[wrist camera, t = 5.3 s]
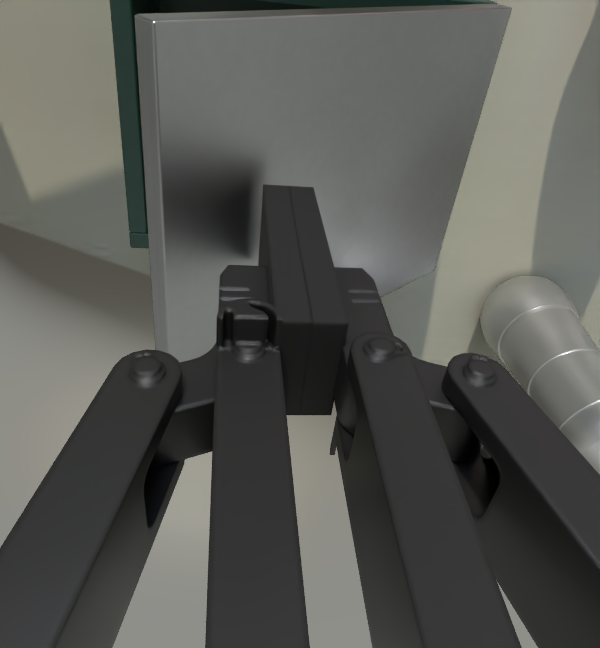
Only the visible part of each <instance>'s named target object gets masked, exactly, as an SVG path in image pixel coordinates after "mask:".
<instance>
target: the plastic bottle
mask: <svg viewBox="0 0 600 648" xmlns="http://www.w3.org/2000/svg"><path fill="white" fill-rule="evenodd" d="M480 323H481V328H482V331H483V335H484V338H485V340H486V343H487V344H488V346H489V347H490V348H491V349H492V350H493V352H494V353H495V354H496V355H497V356H498V358H499V359H500V360H501V361H502V362H503V363H504V364H506V365H507V367H508V368H509V369H510V371H511V372H512V373H513V375H514V376H515V377H516V379H517V380H518V382H519V383H520V384H521V386H522V387H523V388H524V390H525V391H526V393H527V394H528V395H529V396H530V397H531V398H532V399H533V400H534V402H535V403H536V404H537V405H538V406H539V407H540V408H541V409H542V411H543V412H544V413H545V414H546V415H547V416H548V417H549V418H550V420H551V421H552V422H553V423H554V424H555V425H556V426H557V427H558V428H559V430H560V431H561V432H562V433H563V434H564V435H565V436H566V437H567V439H568V440H569V441H570V442H571V443H572V444H573V445H574V446H575V448H576V449H577V450H578V451H579V452H580V453H581V454H582V455H583V456H584V458H585V459H586V460H587V461H588V462H589V463H590V464H591V465H592V467H593V468H594V469H595V470H596V471H597V472H598V473H599V474H600V350H599V349H598V348H597V346H596V345H595V343H594V342H593V340H592V338H591V337H590V335H589V334H588V332H587V331H586V329H585V328H584V326H583V324H582V323H581V321H580V319H579V316H578V313H577V311H576V309H575V307H574V305H573V303H572V302H571V300H570V298H569V297H568V295H567V293H566V292H565V291H564V290H562V289H561V288H560V287H559V286H557V285H556V284H555V283H553V282H552V281H550V280H549V279H547V278H544V277H540V276H519V277H515V278H512V279H509V280H507V281H505V282H503V283H502V284H500V285H499V286H497V287H496V288H495V289H494V290H493V291H492V292H491V294H490V295H489V296H488V298H487V299H486V301H485V303H484V306H483V309H482V312H481V317H480Z"/></svg>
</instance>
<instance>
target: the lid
mask: <svg viewBox="0 0 600 648" xmlns="http://www.w3.org/2000/svg"><path fill="white" fill-rule="evenodd" d="M511 10H512V8H511V7H507V6H503V5H498V4H469V5H434V6H398V7H363V8H328V9H292V10H257V11H222V12H187V13H151V14H136V15H135V31H136V47H137V63H138V79H139V94H140V110H141V126H142V142H143V158H144V174H145V190H146V206H147V222H148V238H149V254H150V270H151V285H152V302H153V318H154V334H155V350H159V351H163V352H166V353H169V354H171V355H172V356H173V357H175V358H176V359H177V360H178V361H179V362H184V361H188V360H192V359H195V358H198V357H200V356H202V355H204V354H206V353H207V352H208V351H210V350H211V349H212V348H213V346H214V345H215V343H216V329H217V314H218V307H219V282H220V275H221V273H222V272H223V271H224V270H225V268H226V267H227V266H228V265H249V266H258V259H259V243H260V227H261V211H262V195H263V184H264V185H283V186H301V187H314V191H315V195H316V199H317V203H318V206H319V210H320V214H321V218H322V222H323V226H324V229H325V233H326V237H327V241H328V245H329V249H330V253H331V256H332V260H333V264H334V267H342V268H363V269H364V270H365V271H366V272H367V273H368V274H369V275H370V276H371V277H372V278H373V279H374V282H375V284H376V287H377V290H378V294H379V296H380V298H381V297H383V296H385V295H387V294H389V293H391V292H393V291H395V290H396V289H398V288H400V287H402V286H404V285H406V284H408V283H410V282H412V281H414V280H416V279H418V278H420V277H422V276H424V275H425V274H427V273H429V272H431V271H433V270H434V269H435V266H436V263H437V259H438V256H439V252H440V249H441V246H442V242H443V239H444V236H445V232H446V229H447V226H448V222H449V219H450V215H451V212H452V209H453V205H454V202H455V199H456V195H457V192H458V188H459V185H460V182H461V178H462V175H463V172H464V168H465V165H466V161H467V158H468V155H469V151H470V148H471V145H472V141H473V138H474V135H475V131H476V128H477V124H478V121H479V118H480V114H481V111H482V108H483V104H484V101H485V97H486V94H487V91H488V87H489V84H490V81H491V77H492V74H493V70H494V67H495V64H496V60H497V57H498V54H499V50H500V47H501V44H502V40H503V37H504V33H505V30H506V27H507V23H508V20H509V17H510V13H511Z"/></svg>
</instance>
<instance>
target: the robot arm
mask: <svg viewBox="0 0 600 648" xmlns="http://www.w3.org/2000/svg"><path fill="white" fill-rule="evenodd" d="M334 401H335V406H336V411H337V417H336V422H335V427H334V432H333V437H332V442H331V448H330V455H334V454H335V450H336V446H337V450H338V457H339V462H340V468H341V473H342V479H343V485H344V490H345V496H346V501H347V507H348V512H349V518H350V524H351V530H352V535H353V540H354V546H355V552H356V557H357V563H358V569H359V574H360V580H361V586H362V591H363V597H364V603H365V608H366V613H367V619H368V625H369V630H370V636H371V642H372V647H373V648H521V645H520V642H519V640H518V637H517V635H516V632H515V629H514V626H513V624H512V621H511V618H510V616H509V613H508V610H507V608H506V605H505V602H504V600H503V597H502V594H501V592H500V589H499V586H498V584H497V582H498V583H499V585H500V586H501V588H502V590H503V591H504V593H505V595H506V596H507V598H508V599H509V601H510V603H511V604H512V606H513V608H514V609H515V611H516V612H517V614H518V615H519V617H520V619H521V621H522V622H523V624H524V625H525V627H526V629H527V630H528V632H529V633H530V635H531V637H532V638H533V640H534V642H535V643H536V645H537V646H538V648H600V474H599V473H598V472H597V471H596V470H595V469H594V468H593V467H592V465H591V464H590V463H589V462H588V461H587V460H586V459H585V458H584V456H583V455H582V454H581V453H580V452H579V451H578V450H577V449H576V448H575V446H574V445H573V444H572V443H571V442H570V441H569V440H568V439H567V437H566V436H565V435H564V434H563V433H562V432H561V431H560V430H559V428H558V427H557V426H556V425H555V424H554V423H553V422H552V421H551V420H550V418H549V417H548V416H547V415H546V414H545V413H544V412H543V411H542V409H541V408H540V407H539V406H538V405H537V404H536V403H535V402H534V400H533V399H532V398H531V397H530V396H529V395H528V394H527V393H526V392H525V390H524V389H523V388H522V387H521V386H520V385H519V384H518V383H517V381H516V380H515V379H514V378H513V377H512V376H511V375H510V374H509V372H508V371H507V370H506V369H505V368H504V367H502V366H501V365H500V364H499V363H498V362H496V361H494V360H492V359H490V358H488V357H486V356H482V355H478V354H474V353H465V354H460V355H457V356H454V357H453V358H452V359H451V361H450V362H449V363H448V366H447V367H446V366H442V365H438V364H433V363H429V362H426V361H423V360H419V359H417V358H415V357H413V356H412V353H411V351H410V349H409V348H408V346H407V345H406V343H404V342H403V341H402V340H400V339H399V338H397V337H395V336H394V335H393V333H392V330H391V327H390V324H389V321H388V318H387V316H386V313H385V310H384V307H383V304H381V299H380V296H379V294H378V290H377V287H376V284H375V282H374V279H373V278H372V277H371V276H370V275H369V274H368V273H367V272H366V271H365V270H364V269H363V268H342V267H334V264H333V260H332V256H331V253H330V249H329V245H328V241H327V237H326V233H325V229H324V226H323V222H322V218H321V214H320V210H319V206H318V203H317V199H316V195H315V191H314V187H301V186H283V185H264V184H263V195H262V211H261V227H260V243H259V259H258V266H249V265H228V266H227V267H226V268H225V270H224V271H223V272H222V273H221V275H220V282H219V307H218V314H217V329H216V343H215V345H214V346H213V348H212V349H211V350H210V351H208V352H207V353H206V354H204V355H202V356H200V357H198V358H195V359H192V360H188V361H184V362H179V361H178V360H177V359H176V358H175V357H173V356H172V355H171V354H169V353H166V352H163V351H159V350H143V351H138V352H133V353H131V354H129V355H127V356H125V357H123V358H122V359H121V360H120V361H119V362H118V363H117V364H116V365H115V366H114V367H113V369H112V371H111V372H110V374H109V375H108V377H107V378H106V380H105V382H104V383H103V385H102V386H101V388H100V390H99V391H98V393H97V395H96V396H95V398H94V399H93V401H92V402H91V404H90V406H89V407H88V409H87V410H86V412H85V414H84V415H83V417H82V418H81V420H80V422H79V423H78V425H77V426H76V428H75V430H74V431H73V433H72V434H71V436H70V437H69V439H68V441H67V442H66V444H65V445H64V447H63V449H62V451H61V452H60V454H59V455H58V457H57V458H56V460H55V461H54V463H53V465H52V467H51V468H50V470H49V471H48V473H47V474H46V476H45V477H44V479H43V481H42V482H41V484H40V485H39V487H38V489H37V490H36V492H35V493H34V495H33V497H32V498H31V500H30V501H29V503H28V505H27V506H26V508H25V509H24V511H23V513H22V514H21V516H20V517H19V519H18V521H17V522H16V524H15V525H14V527H13V528H12V530H11V532H10V533H9V535H8V536H7V538H6V540H5V541H4V543H3V545H2V546H1V548H0V648H112V647H113V644H114V642H115V639H116V637H117V634H118V632H119V629H120V627H121V624H122V622H123V619H124V616H125V614H126V611H127V609H128V606H129V604H130V601H131V598H132V596H133V593H134V591H135V588H136V585H137V583H138V581H139V578H140V575H141V573H142V570H143V568H144V565H145V563H146V560H147V558H148V555H149V552H150V550H151V547H152V545H153V542H154V540H155V537H156V535H157V532H158V529H159V527H160V524H161V522H162V519H163V517H164V514H165V512H166V509H167V506H168V504H169V501H170V499H171V496H172V493H173V491H174V488H175V486H176V483H177V481H178V478H179V476H180V473H181V471H182V468H183V465H184V460H185V459H187V458H190V457H194V456H197V455H201V454H204V453H208V452H211V451H213V452H212V480H211V508H210V536H209V562H208V589H207V617H206V645H205V648H310V646H309V635H308V625H307V616H306V606H305V596H304V586H303V576H302V566H301V557H300V546H299V536H298V526H297V516H296V507H295V496H294V487H293V477H292V467H291V456H290V446H289V436H288V427H287V417H286V415H331V413H332V408H333V403H334ZM496 580H497V581H496Z"/></svg>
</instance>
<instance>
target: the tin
mask: <svg viewBox="0 0 600 648" xmlns="http://www.w3.org/2000/svg"><path fill="white" fill-rule="evenodd" d="M469 4H497V3H495V2H493V1H491V0H110V10H111V21H112V33H113V45H114V57H115V68H116V80H117V92H118V103H119V115H120V127H121V139H122V150H123V162H124V174H125V186H126V197H127V209H128V221H129V231H130V233H129V234H130V246H131V247H132V248H149V238H148V222H147V206H146V190H145V174H144V158H143V142H142V126H141V110H140V94H139V79H138V63H137V47H136V31H135V15H136V14H151V13H187V12H222V11H257V10H292V9H328V8H363V7H398V6H434V5H469Z"/></svg>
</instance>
